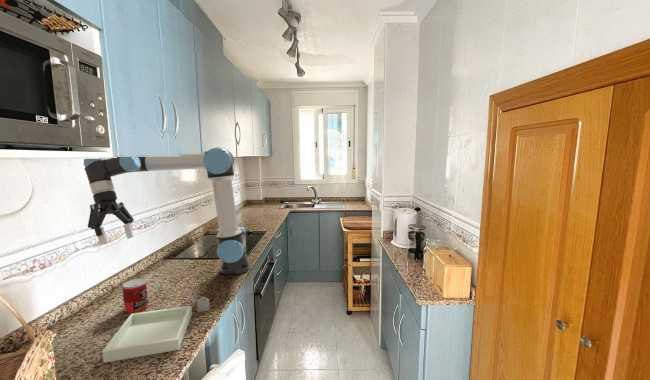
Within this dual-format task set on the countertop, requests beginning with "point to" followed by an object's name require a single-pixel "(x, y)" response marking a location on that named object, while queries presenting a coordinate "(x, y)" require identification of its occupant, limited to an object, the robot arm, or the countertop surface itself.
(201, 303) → the lighter
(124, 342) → the tray
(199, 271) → the countertop surface
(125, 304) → the canned food
